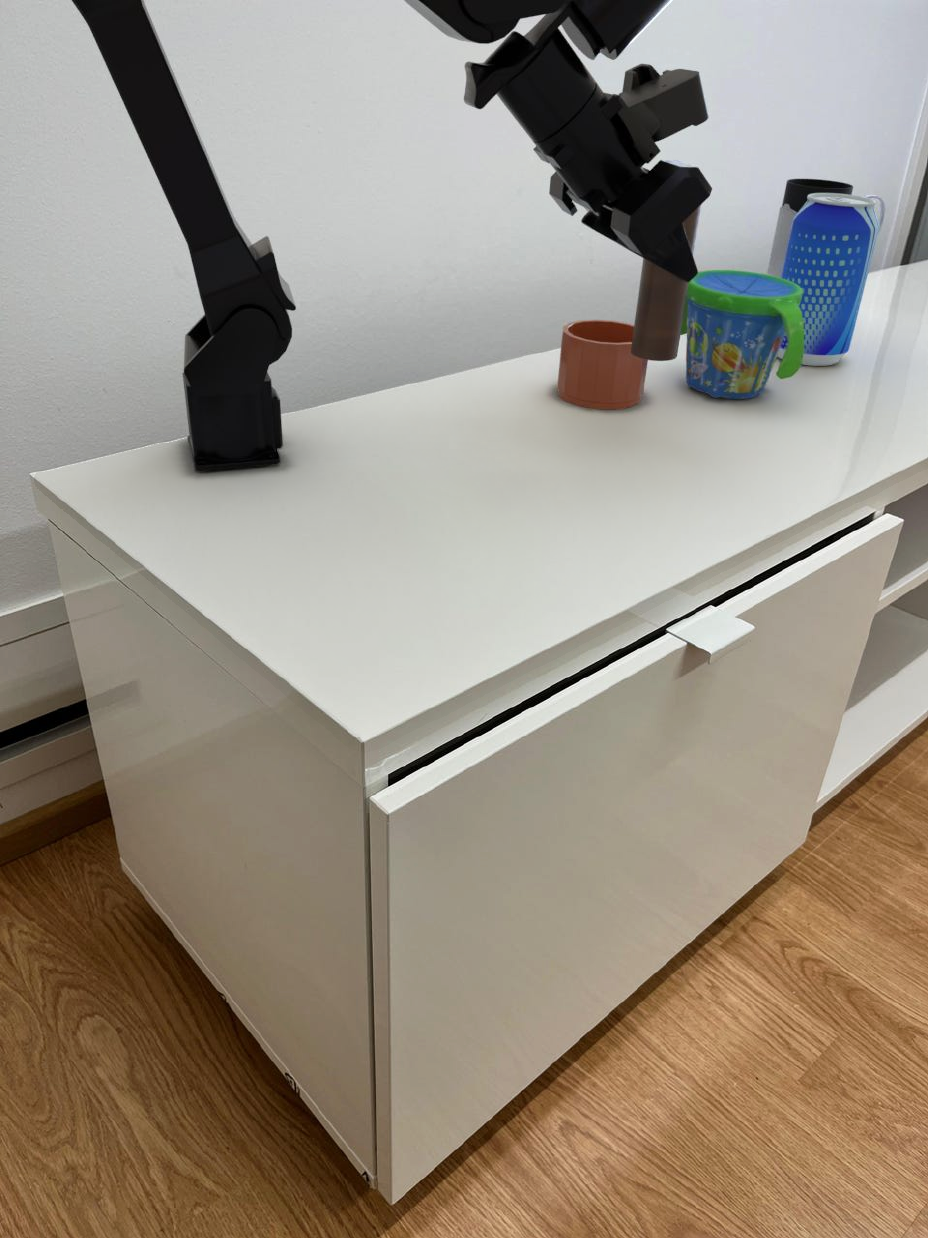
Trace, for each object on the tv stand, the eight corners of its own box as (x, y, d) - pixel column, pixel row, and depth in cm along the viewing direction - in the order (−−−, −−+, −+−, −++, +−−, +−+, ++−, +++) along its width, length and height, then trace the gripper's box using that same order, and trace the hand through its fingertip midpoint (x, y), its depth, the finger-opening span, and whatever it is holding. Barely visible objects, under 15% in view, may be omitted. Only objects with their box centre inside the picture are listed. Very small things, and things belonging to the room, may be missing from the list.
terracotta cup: (577, 412, 88) (584, 346, 85) (544, 383, 95) (549, 321, 92) (656, 406, 91) (666, 341, 88) (618, 378, 97) (626, 317, 94)
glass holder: (742, 305, 124) (767, 177, 117) (839, 302, 128) (869, 177, 120) (779, 324, 117) (808, 189, 109) (880, 320, 121) (915, 189, 113)
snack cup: (820, 410, 92) (847, 299, 86) (727, 422, 88) (749, 306, 82) (721, 361, 104) (740, 261, 98) (636, 369, 100) (650, 265, 95)
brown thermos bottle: (655, 363, 79) (681, 188, 72) (621, 351, 81) (643, 181, 74) (686, 356, 81) (714, 185, 74) (652, 344, 83) (676, 178, 76)
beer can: (854, 354, 108) (894, 198, 99) (834, 373, 102) (875, 208, 93) (779, 340, 111) (811, 188, 103) (755, 357, 105) (787, 197, 97)
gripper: (709, 24, 60) (826, 217, 68) (602, 18, 75) (708, 176, 84) (574, 162, 62) (702, 332, 71) (497, 130, 78) (610, 272, 86)
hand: (681, 271), depth 78 cm, fingers closed on brown thermos bottle, 4 cm apart
